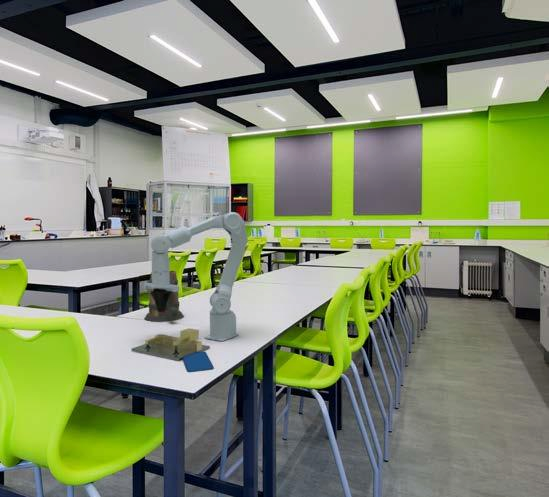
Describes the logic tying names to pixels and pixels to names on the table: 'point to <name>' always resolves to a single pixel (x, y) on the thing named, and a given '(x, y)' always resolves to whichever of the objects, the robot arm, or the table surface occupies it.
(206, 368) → the smartphone
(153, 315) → the tankard
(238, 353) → the table surface
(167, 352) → the base
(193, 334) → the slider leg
